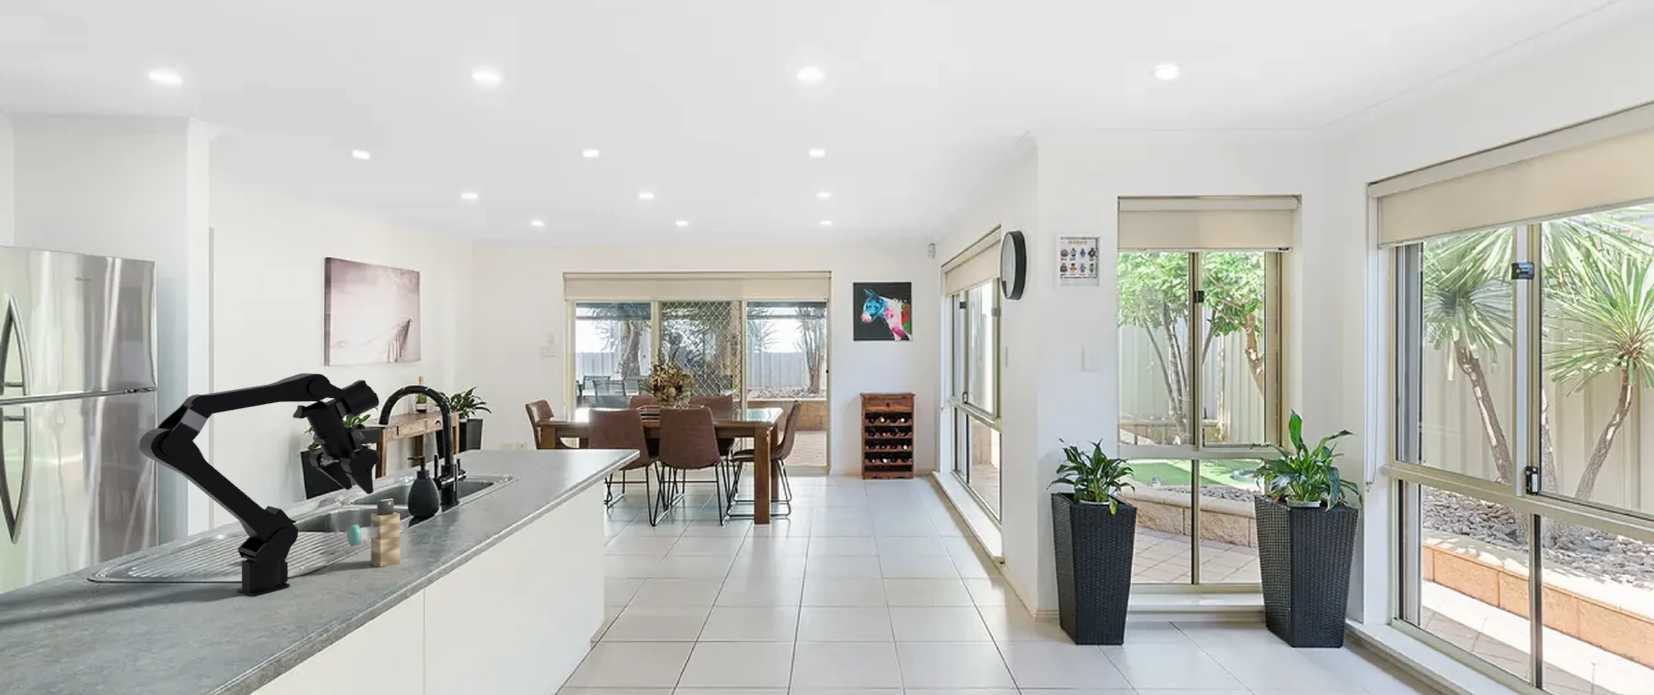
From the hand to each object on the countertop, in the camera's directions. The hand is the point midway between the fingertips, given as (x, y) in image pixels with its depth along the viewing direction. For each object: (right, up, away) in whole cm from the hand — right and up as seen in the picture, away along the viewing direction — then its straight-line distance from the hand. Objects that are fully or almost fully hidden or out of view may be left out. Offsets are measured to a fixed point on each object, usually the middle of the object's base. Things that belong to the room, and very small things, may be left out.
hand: (360, 491), depth 163 cm
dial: (+4, -6, +3) cm, 7 cm away
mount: (+4, -17, +3) cm, 17 cm away
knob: (+2, -11, 0) cm, 11 cm away
